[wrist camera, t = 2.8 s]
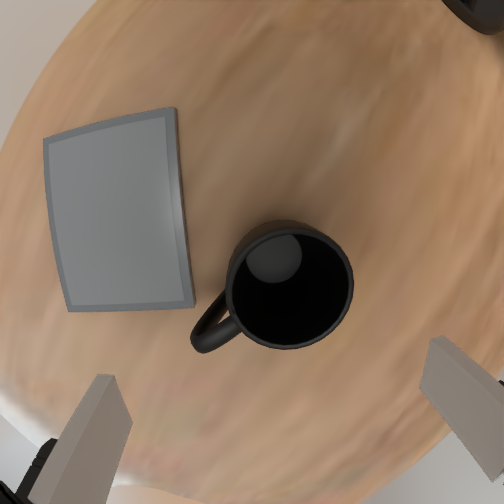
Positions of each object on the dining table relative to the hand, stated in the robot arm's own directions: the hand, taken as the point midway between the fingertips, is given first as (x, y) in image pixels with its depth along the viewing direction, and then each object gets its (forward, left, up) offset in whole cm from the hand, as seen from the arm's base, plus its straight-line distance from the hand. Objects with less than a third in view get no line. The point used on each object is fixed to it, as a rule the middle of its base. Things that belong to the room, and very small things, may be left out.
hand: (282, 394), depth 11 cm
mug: (0, 0, -18) cm, 18 cm away
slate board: (-6, -13, -17) cm, 23 cm away
